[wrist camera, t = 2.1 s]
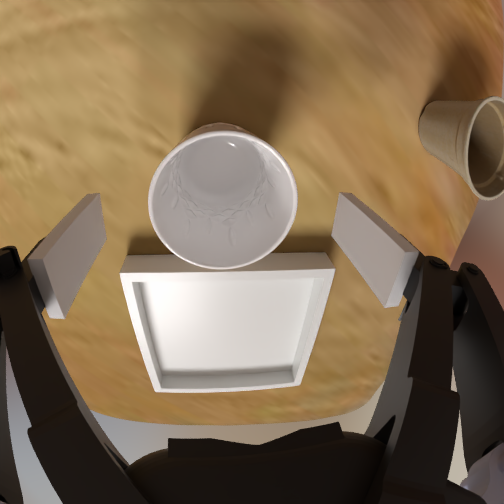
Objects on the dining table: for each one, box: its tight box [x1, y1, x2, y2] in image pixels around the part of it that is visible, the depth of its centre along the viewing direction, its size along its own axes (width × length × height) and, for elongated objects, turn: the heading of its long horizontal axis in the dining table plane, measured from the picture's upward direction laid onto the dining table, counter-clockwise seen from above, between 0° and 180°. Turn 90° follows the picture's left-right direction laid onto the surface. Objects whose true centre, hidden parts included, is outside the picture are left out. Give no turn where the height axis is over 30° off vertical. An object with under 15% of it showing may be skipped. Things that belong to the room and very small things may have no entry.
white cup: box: [148, 122, 298, 269], centre depth 19 cm, size 8×8×10 cm
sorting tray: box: [120, 252, 335, 393], centre depth 32 cm, size 20×20×3 cm
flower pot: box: [419, 96, 504, 200], centre depth 20 cm, size 9×9×9 cm
